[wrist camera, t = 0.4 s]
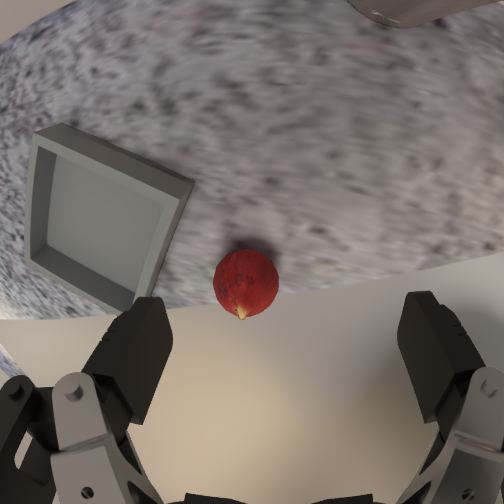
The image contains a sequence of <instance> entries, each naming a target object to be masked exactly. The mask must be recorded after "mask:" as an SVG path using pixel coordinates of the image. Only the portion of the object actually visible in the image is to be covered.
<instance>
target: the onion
mask: <svg viewBox="0 0 504 504" xmlns="http://www.w3.org/2000/svg"><path fill="white" fill-rule="evenodd" d="M213 286H214V290H215V294H216V297H217V300H218V301H219V303H220V304H221V305H222V306H223V308H224V309H225V310H227V311H228V312H230V313H232V314H234V315H236V316H238V318H239V319H240V320H244V319H245V318H246V317H250V316H253V315H256V314H259V313H261V312H263V311H264V310H265V309H266V308H267V307H269V306H270V305H271V303H272V302H273V300H274V298H275V296H276V294H277V292H278V288H279V276H278V273H277V270H276V268H275V267H274V265H273V263H272V261H270V260H269V259H268V258H267V257H266V256H264V255H263V254H262V253H259V252H257V251H254V250H244V249H242V250H239V251H236V252H232V253H230V254H227V255H226V256H225V257H224V258H223V259H222V260H221V261H220V262H219V264H218V266H217V267H216V271H215V275H214V280H213Z"/></svg>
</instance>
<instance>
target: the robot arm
mask: <svg viewBox="0 0 504 504" xmlns="http://www.w3.org/2000/svg"><path fill="white" fill-rule="evenodd" d="M348 1H349V2H350V3H351V4H352V5H353V6H354V7H355V8H356V9H357V10H358V11H360V12H361V13H362V14H364V15H365V16H367V17H368V18H370V19H372V20H374V21H376V22H378V23H381V24H384V25H387V26H391V27H397V28H410V27H414V26H418V25H421V24H423V23H426V22H429V21H432V20H435V19H438V18H441V17H445V16H448V15H451V14H454V13H457V12H461V11H464V10H467V9H471V8H475V7H478V6H482V5H486V4H490V3H495V2H499V1H504V0H348ZM397 341H398V346H399V349H400V351H401V354H402V357H403V360H404V362H405V365H406V368H407V371H408V374H409V376H410V379H411V382H412V385H413V388H414V391H415V394H416V397H417V400H418V403H419V407H420V410H421V413H422V416H423V420H424V423H425V424H426V423H430V422H434V421H437V422H438V425H439V428H438V429H437V431H436V433H435V435H434V437H433V439H432V442H431V444H430V446H429V448H428V450H427V453H426V455H425V457H424V459H423V461H422V463H421V465H420V467H419V469H418V471H417V473H416V475H415V477H414V478H413V480H412V481H411V483H410V484H409V486H408V487H407V488H406V489H405V491H404V492H403V493H402V495H401V496H400V498H399V499H398V501H397V502H396V504H495V501H496V499H497V496H498V493H499V490H500V488H501V492H502V498H503V503H504V373H503V372H502V371H500V370H498V369H496V368H492V367H486V365H485V364H484V362H483V360H482V358H481V356H480V355H479V353H478V351H477V349H476V348H475V346H474V344H473V343H472V341H471V339H470V337H469V336H468V335H467V333H466V331H465V329H464V328H463V326H461V323H460V321H459V320H458V318H457V317H456V315H455V314H454V313H453V312H452V311H451V310H450V309H448V308H447V307H446V306H445V305H443V304H442V305H440V304H439V303H438V301H437V300H436V298H435V297H434V295H433V293H432V292H431V291H417V292H409V293H408V294H407V296H406V298H405V303H404V307H403V311H402V315H401V319H400V322H399V326H398V331H397ZM172 345H173V335H172V330H171V326H170V323H169V320H168V316H167V313H166V309H165V306H164V302H163V300H162V298H160V297H138V298H137V299H136V300H135V302H134V303H133V305H132V307H131V308H130V310H129V311H126V310H125V311H124V312H123V313H122V314H120V315H119V316H118V317H117V318H115V319H114V320H113V322H112V323H111V325H110V327H109V328H108V330H107V332H106V333H105V334H104V336H103V337H102V341H100V342H99V344H98V345H97V347H96V348H95V350H94V351H93V353H92V355H91V356H90V358H89V359H88V361H87V363H86V364H85V366H84V368H83V369H82V371H81V372H75V373H70V374H68V375H66V376H64V377H62V378H61V379H60V380H59V381H58V382H57V383H56V384H55V386H54V387H43V388H42V387H41V388H36V387H35V385H34V384H33V382H32V381H31V380H30V378H28V377H27V376H24V375H18V376H15V377H12V378H11V379H9V380H8V381H7V382H6V383H5V384H4V385H3V387H2V388H1V390H0V504H52V502H53V499H54V496H55V493H56V490H57V494H58V497H59V501H60V504H164V502H163V501H162V499H161V497H160V495H159V494H158V493H157V491H156V489H155V488H154V487H153V485H152V484H151V482H150V481H149V479H148V477H147V475H146V473H145V471H144V469H143V466H142V464H141V462H140V460H139V457H138V455H137V453H136V450H135V448H134V445H133V443H132V440H131V438H130V435H129V433H128V431H127V428H128V426H129V423H134V424H139V425H143V422H144V420H145V417H146V414H147V412H148V409H149V406H150V404H151V401H152V398H153V396H154V393H155V390H156V388H157V385H158V383H159V380H160V378H161V375H162V372H163V370H164V367H165V365H166V362H167V360H168V357H169V355H170V352H171V350H172ZM26 431H27V432H28V433H29V434H30V435H31V436H32V437H33V439H32V441H31V443H30V446H29V448H28V450H27V452H26V454H25V457H24V459H23V461H22V464H21V466H20V468H19V469H18V468H17V467H16V465H15V461H14V458H15V454H16V452H17V450H18V447H19V445H20V443H21V441H22V439H23V437H24V434H25V433H26ZM168 504H246V503H243V502H239V501H236V500H233V499H228V498H219V497H210V496H202V495H196V494H190V493H186V495H185V499H184V501H179V502H173V503H168ZM312 504H384V503H378V502H373V496H372V494H367V495H360V496H353V497H344V498H335V499H327V500H323V501H320V502H316V503H312Z"/></svg>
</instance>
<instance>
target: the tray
mask: <svg viewBox="0 0 504 504" xmlns="http://www.w3.org/2000/svg"><path fill="white" fill-rule="evenodd" d="M194 184H195V182H194V181H192V180H190V179H188V178H186V177H184V176H181V175H179V174H177V173H175V172H173V171H171V170H168V169H166V168H164V167H162V166H160V165H157V164H155V163H153V162H151V161H149V160H146V159H144V158H142V157H140V156H137V155H135V154H133V153H131V152H128V151H126V150H124V149H122V148H119V147H117V146H115V145H112V144H110V143H108V142H105V141H103V140H101V139H98V138H96V137H94V136H91V135H89V134H87V133H84V132H82V131H79V130H77V129H75V128H72V127H70V126H67V125H65V124H62V123H61V124H58V125H55V126H51V127H48V128H45V129H42V130H39V131H37V132H34V133H33V138H32V144H31V151H30V158H29V166H28V175H27V186H26V199H25V222H24V251H25V262H26V263H28V264H29V265H31V266H32V267H34V268H35V269H37V270H38V271H40V272H42V273H43V274H45V275H46V276H48V277H50V278H51V279H53V280H54V281H56V282H58V283H59V284H61V285H63V286H64V287H66V288H68V289H69V290H71V291H73V292H75V293H76V294H78V295H80V296H82V297H83V298H85V299H87V300H89V301H90V302H92V303H94V304H96V305H98V306H100V307H101V308H103V309H105V310H107V311H109V312H111V313H113V314H115V315H117V316H119V315H120V314H122V313H123V312H124V311H125V310H126V311H129V310H130V308H131V307H132V305H133V303H134V302H135V300H136V299H137V298H138V297H151V294H152V291H153V289H154V286H155V283H156V280H157V277H158V274H159V272H160V269H161V266H162V264H163V261H164V258H165V255H166V253H167V250H168V248H169V245H170V242H171V240H172V237H173V235H174V232H175V230H176V227H177V225H178V222H179V220H180V217H181V215H182V212H183V210H184V207H185V205H186V202H187V200H188V198H189V195H190V193H191V191H192V188H193V186H194Z"/></svg>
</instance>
